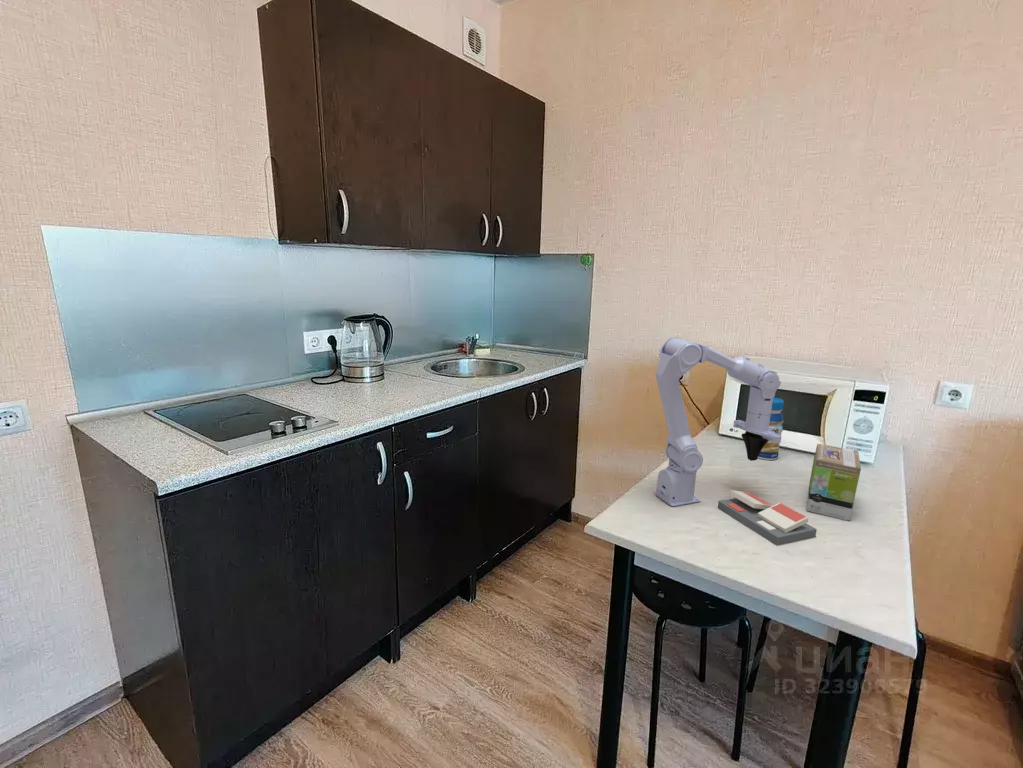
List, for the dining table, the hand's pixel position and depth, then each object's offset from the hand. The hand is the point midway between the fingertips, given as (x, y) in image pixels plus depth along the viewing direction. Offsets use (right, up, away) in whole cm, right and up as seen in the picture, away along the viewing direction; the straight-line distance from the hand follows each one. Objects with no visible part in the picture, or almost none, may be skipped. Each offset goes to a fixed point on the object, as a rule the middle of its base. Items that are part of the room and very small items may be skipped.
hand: (752, 459), depth 137 cm
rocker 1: (-4, -9, -9) cm, 13 cm away
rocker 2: (-1, -11, -17) cm, 21 cm away
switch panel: (-3, -14, -13) cm, 19 cm away
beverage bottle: (+19, -4, +31) cm, 37 cm away
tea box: (+19, -12, -3) cm, 23 cm away
